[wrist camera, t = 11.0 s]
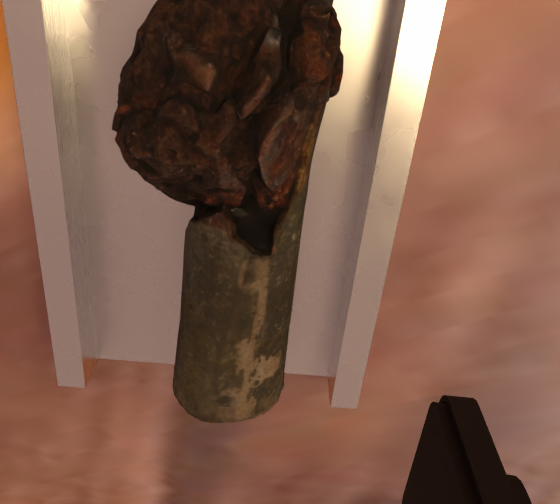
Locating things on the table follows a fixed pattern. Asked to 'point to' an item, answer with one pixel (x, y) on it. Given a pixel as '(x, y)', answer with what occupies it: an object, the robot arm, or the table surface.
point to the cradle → (175, 215)
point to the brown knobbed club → (231, 176)
